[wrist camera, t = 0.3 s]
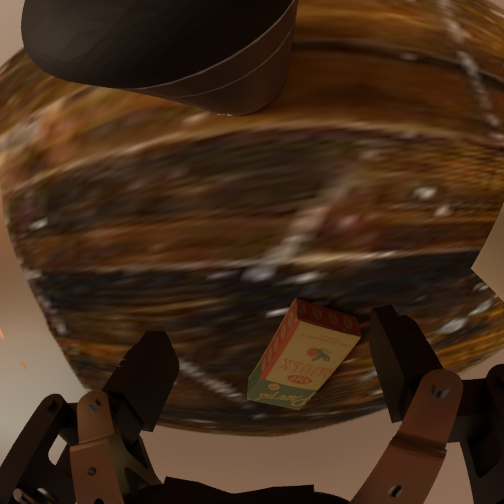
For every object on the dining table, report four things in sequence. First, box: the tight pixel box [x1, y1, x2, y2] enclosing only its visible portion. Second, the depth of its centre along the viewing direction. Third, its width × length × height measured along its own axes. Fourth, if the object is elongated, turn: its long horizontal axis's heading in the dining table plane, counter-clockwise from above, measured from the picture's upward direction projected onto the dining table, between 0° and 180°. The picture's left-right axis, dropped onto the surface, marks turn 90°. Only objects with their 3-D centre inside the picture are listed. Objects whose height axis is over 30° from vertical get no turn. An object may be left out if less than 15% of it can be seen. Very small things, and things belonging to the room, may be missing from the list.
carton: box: [247, 298, 361, 410], centre depth 32 cm, size 8×16×4 cm, turn 161°
